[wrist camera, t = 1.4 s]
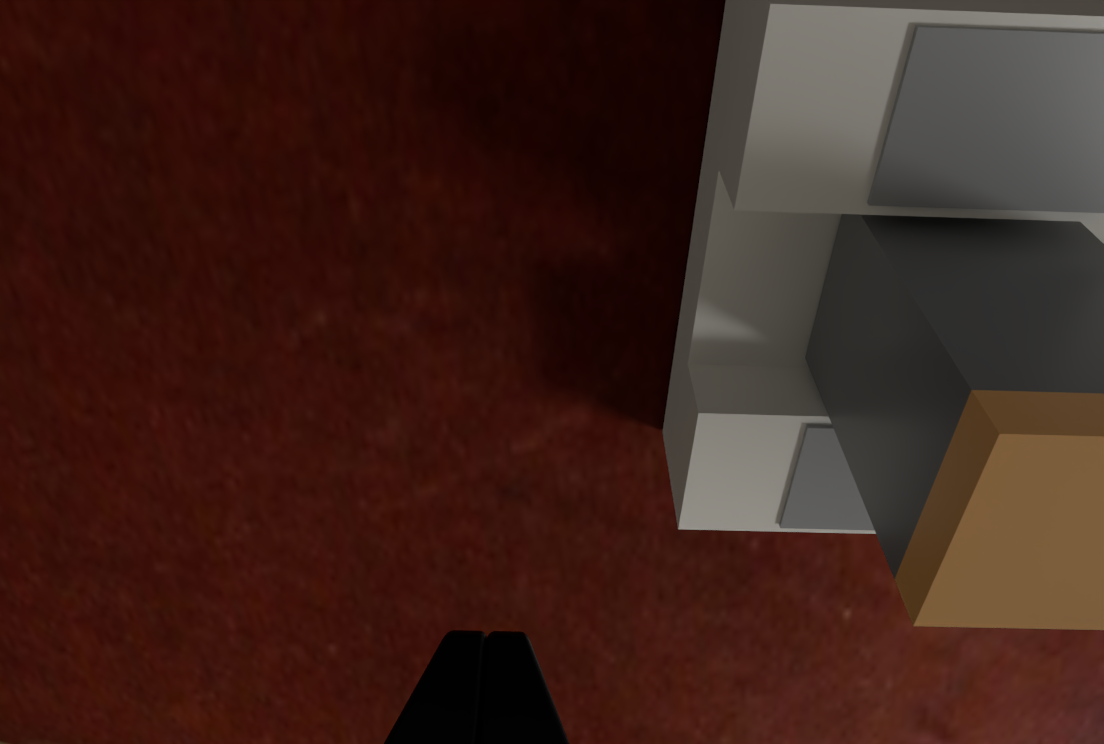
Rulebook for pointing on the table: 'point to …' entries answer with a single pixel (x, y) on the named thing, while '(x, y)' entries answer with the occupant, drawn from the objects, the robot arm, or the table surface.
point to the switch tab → (972, 411)
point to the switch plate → (852, 210)
